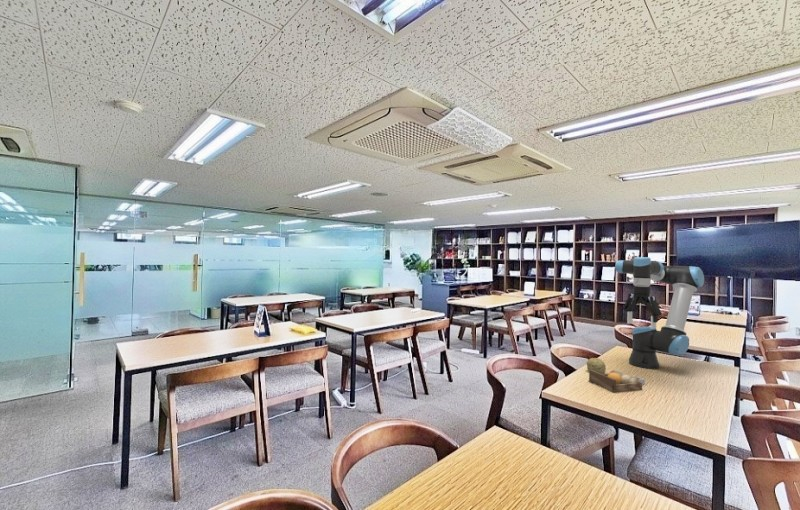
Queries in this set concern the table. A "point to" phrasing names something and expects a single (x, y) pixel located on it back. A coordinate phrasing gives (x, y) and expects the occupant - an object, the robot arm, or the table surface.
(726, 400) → the table surface
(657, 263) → the robot arm
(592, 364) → the decorative item
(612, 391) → the mat
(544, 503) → the table surface
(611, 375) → the ball
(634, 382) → the brown wooden tray
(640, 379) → the grey square frame
